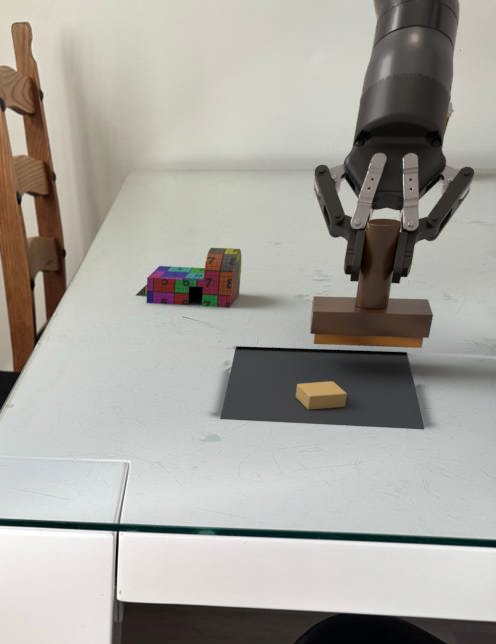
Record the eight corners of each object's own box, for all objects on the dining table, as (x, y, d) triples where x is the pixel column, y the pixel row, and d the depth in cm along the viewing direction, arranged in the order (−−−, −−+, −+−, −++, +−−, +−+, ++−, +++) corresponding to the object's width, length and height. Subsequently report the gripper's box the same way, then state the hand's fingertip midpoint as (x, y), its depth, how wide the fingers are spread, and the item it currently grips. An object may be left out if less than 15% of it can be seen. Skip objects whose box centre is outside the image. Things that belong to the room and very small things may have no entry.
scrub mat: (404, 358, 97) (406, 347, 96) (422, 440, 80) (424, 428, 79) (235, 352, 100) (236, 342, 100) (218, 430, 83) (219, 418, 83)
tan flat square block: (331, 394, 86) (333, 380, 86) (345, 407, 84) (347, 393, 83) (295, 397, 86) (296, 383, 86) (308, 410, 84) (309, 396, 83)
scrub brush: (421, 332, 92) (443, 216, 86) (426, 349, 88) (449, 228, 82) (309, 328, 94) (323, 215, 88) (308, 345, 90) (323, 227, 84)
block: (242, 300, 116) (247, 238, 112) (228, 319, 110) (233, 254, 106) (141, 294, 120) (143, 234, 116) (123, 313, 113) (124, 250, 110)
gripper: (324, 70, 87) (292, 249, 84) (498, 68, 83) (470, 255, 80) (321, 130, 94) (292, 296, 92) (481, 130, 90) (456, 305, 87)
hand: (375, 276), depth 86 cm, fingers closed on scrub brush, 3 cm apart
